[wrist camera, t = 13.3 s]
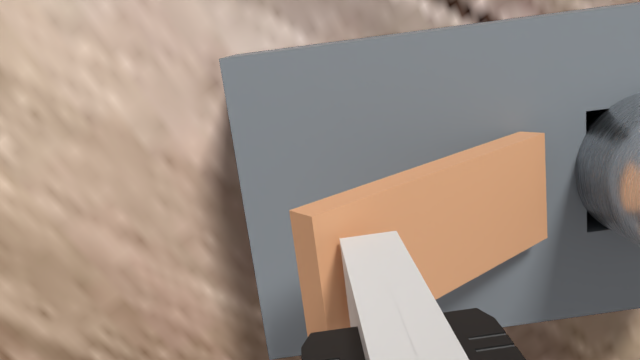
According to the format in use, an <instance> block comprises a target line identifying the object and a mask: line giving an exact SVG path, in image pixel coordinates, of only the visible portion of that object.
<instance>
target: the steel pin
mask: <svg viewBox="0 0 640 360" xmlns="http://www.w3.org/2000/svg"><path fill="white" fill-rule="evenodd" d="M575 181H576V187H577V191H578V194H579V197H580V199H581V201H582V203H583V205H584V207H585V208H586V210H587V211H588V212H589V214H590V215H591V216H592V217H593V218H594V219H596V220H597V221H598V222H600V223H601V224H602V225H604V226H606V227H607V228H609V229H611V230H612V231H614V232H616V233H617V234H619V235H621V236H622V237H624V238H626V239H627V240H629V241H631V242H632V243H634V244H636V245H638V246H639V247H640V93H638V94H635V95H632V96H629V97H627V98H625V99H623V100H620V101H619V102H617V103H616V104H614V105H612V106H611V107H610V108H608V109H601V110H593V111H586V135H585V137H584V139H583V141H582V143H581V145H580V148H579V151H578V154H577V159H576V165H575Z"/></svg>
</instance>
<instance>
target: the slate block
mask: <svg viewBox="0 0 640 360" xmlns="http://www.w3.org/2000/svg"><path fill="white" fill-rule="evenodd" d="M219 61H220V67H221V73H222V79H223V85H224V91H225V97H226V103H227V109H228V115H229V121H230V127H231V133H232V139H233V145H234V151H235V157H236V163H237V169H238V175H239V181H240V187H241V193H242V199H243V205H244V211H245V217H246V223H247V229H248V235H249V241H250V247H251V253H252V259H253V265H254V271H255V277H256V283H257V289H258V295H259V301H260V307H261V313H262V319H263V325H264V331H265V336H266V342H267V348H268V354H269V360H271V359H278V358H285V357H293V356H300V355H301V347H302V345H303V344H304V342H305V341H306V339H307V338H308V336H307V329H306V322H305V315H304V309H303V302H302V295H301V288H300V281H299V275H298V268H297V261H296V254H295V247H294V240H293V234H292V227H291V220H290V213H289V210H292V209H294V208H297V207H300V206H303V205H306V204H309V203H312V202H315V201H318V200H321V199H324V198H327V197H330V196H332V195H335V194H338V193H341V192H344V191H347V190H350V189H353V188H356V187H359V186H362V185H365V184H368V183H371V182H373V181H376V180H379V179H382V178H385V177H388V176H391V175H394V174H397V173H400V172H403V171H406V170H409V169H411V168H414V167H417V166H420V165H423V164H426V163H429V162H432V161H435V160H438V159H441V158H444V157H447V156H449V155H452V154H455V153H458V152H461V151H464V150H467V149H470V148H473V147H476V146H479V145H482V144H485V143H487V142H490V141H493V140H496V139H499V138H502V137H505V136H508V135H511V134H514V133H517V132H520V131H521V132H537V133H545V163H546V201H547V238H546V239H544V240H543V241H541V242H539V243H537V244H535V245H534V246H532V247H530V248H528V249H526V250H525V251H523V252H521V253H519V254H517V255H516V256H514V257H512V258H510V259H508V260H506V261H505V262H503V263H501V264H499V265H497V266H496V267H494V268H492V269H490V270H488V271H487V272H485V273H483V274H481V275H479V276H478V277H476V278H474V279H472V280H470V281H469V282H467V283H465V284H463V285H461V286H460V287H458V288H456V289H454V290H452V291H451V292H449V293H447V294H445V295H443V296H442V297H440V298H438V299H436V302H437V304H438V305H439V307H440V309H441V311H442V312H450V311H457V310H464V309H471V308H478V309H480V310H481V311H483V312H485V313H487V314H489V315H490V316H492V317H494V318H495V319H496V320H497V321H498V323H499V324H500V326H501V327H508V326H515V325H522V324H529V323H536V322H544V321H551V320H558V319H565V318H572V317H579V316H587V315H594V314H601V313H608V312H615V311H622V310H630V309H637V308H640V247H639V246H638V245H636V244H634V243H632V242H631V241H629V240H627V239H626V238H624V237H622V236H621V235H619V234H617V233H616V232H614V231H612V230H611V229H609V228H607V227H606V226H604V225H602V224H601V223H600V222H598V221H597V220H596V219H594V218H593V217H592V216H591V215H590V214H589V212H588V211H587V210H586V208H585V207H584V205H583V203H582V201H581V199H580V197H579V194H578V191H577V187H576V181H575V165H576V159H577V154H578V151H579V148H580V145H581V143H582V141H583V139H584V137H585V135H586V111H593V110H601V109H608V108H610V107H611V106H612V105H614V104H616V103H617V102H619V101H620V100H623V99H625V98H627V97H629V96H632V95H635V94H638V93H640V2H635V3H628V4H620V5H612V6H605V7H597V8H589V9H582V10H574V11H566V12H559V13H551V14H543V15H536V16H528V17H520V18H513V19H505V20H497V21H490V22H482V23H474V24H467V25H459V26H451V27H444V28H436V29H428V30H421V31H413V32H405V33H398V34H390V35H382V36H375V37H367V38H359V39H352V40H344V41H337V42H329V43H321V44H314V45H306V46H298V47H291V48H283V49H275V50H268V51H260V52H252V53H245V54H237V55H232V56H229V57H225V58H221V59H219Z"/></svg>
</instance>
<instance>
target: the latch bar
mask: <svg viewBox="0 0 640 360" xmlns="http://www.w3.org/2000/svg"><path fill="white" fill-rule="evenodd" d="M289 213H290V220H291V227H292V234H293V240H294V247H295V254H296V261H297V268H298V275H299V281H300V288H301V295H302V302H303V309H304V315H305V322H306V329H307V336H309V335H310V333H314V332H321V331H328V330H335V329H342V328H349V327H350V319H349V311H348V303H347V295H346V287H345V279H344V271H343V263H342V255H341V247H340V239H339V238H346V237H354V236H361V235H368V234H376V233H383V232H390V231H397V233H398V234H399V236H400V238H401V240H402V242H403V243H404V245H405V247H406V249H407V250H408V252H409V254H410V256H411V258H412V259H413V261H414V263H415V265H416V266H417V268H418V270H419V272H420V273H421V275H422V277H423V279H424V281H425V282H426V284H427V286H428V288H429V289H430V291H431V293H432V295H433V296H434V298H435V300H436V299H438V298H440V297H442V296H443V295H445V294H447V293H449V292H451V291H452V290H454V289H456V288H458V287H460V286H461V285H463V284H465V283H467V282H469V281H470V280H472V279H474V278H476V277H478V276H479V275H481V274H483V273H485V272H487V271H488V270H490V269H492V268H494V267H496V266H497V265H499V264H501V263H503V262H505V261H506V260H508V259H510V258H512V257H514V256H516V255H517V254H519V253H521V252H523V251H525V250H526V249H528V248H530V247H532V246H534V245H535V244H537V243H539V242H541V241H543V240H544V239H546V238H547V201H546V163H545V133H537V132H521V131H520V132H517V133H514V134H511V135H508V136H505V137H502V138H499V139H496V140H493V141H490V142H487V143H485V144H482V145H479V146H476V147H473V148H470V149H467V150H464V151H461V152H458V153H455V154H452V155H449V156H447V157H444V158H441V159H438V160H435V161H432V162H429V163H426V164H423V165H420V166H417V167H414V168H411V169H409V170H406V171H403V172H400V173H397V174H394V175H391V176H388V177H385V178H382V179H379V180H376V181H373V182H371V183H368V184H365V185H362V186H359V187H356V188H353V189H350V190H347V191H344V192H341V193H338V194H335V195H332V196H330V197H327V198H324V199H321V200H318V201H315V202H312V203H309V204H306V205H303V206H300V207H297V208H294V209H292V210H289Z"/></svg>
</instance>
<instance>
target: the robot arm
mask: <svg viewBox="0 0 640 360" xmlns="http://www.w3.org/2000/svg"><path fill="white" fill-rule="evenodd" d="M339 239H340V247H341V255H342V263H343V271H344V279H345V287H346V295H347V303H348V311H349V319H350V327H349V328H342V329H335V330H328V331H321V332H314V333H310V335H309V336H308V338H307V339H306V341H305V342H304V344H303V345H302V347H301V357H302V360H526V359H525V358H524V356H523V355H522V354H521V352H520V351H519V350H518V348H517V347H516V346H514V343H513V342H512V340H511V339H510V338H509V336H508V335H506V333H505V331H504V330H503V328H502V327H501V326H500V324H499V323H498V321H497V320H496V319H495V318H494V317H492V316H490V315H489V314H487V313H485V312H483V311H481V310H480V309H478V308H471V309H464V310H457V311H450V312H442V311H441V309H440V307H439V305H438V304H437V302H436V300H435V298H434V296H433V295H432V293H431V291H430V289H429V288H428V286H427V284H426V282H425V281H424V279H423V277H422V275H421V273H420V272H419V270H418V268H417V266H416V265H415V263H414V261H413V259H412V258H411V256H410V254H409V252H408V250H407V249H406V247H405V245H404V243H403V242H402V240H401V238H400V236H399V234H398V233H397V231H390V232H383V233H376V234H368V235H361V236H354V237H346V238H339Z"/></svg>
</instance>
